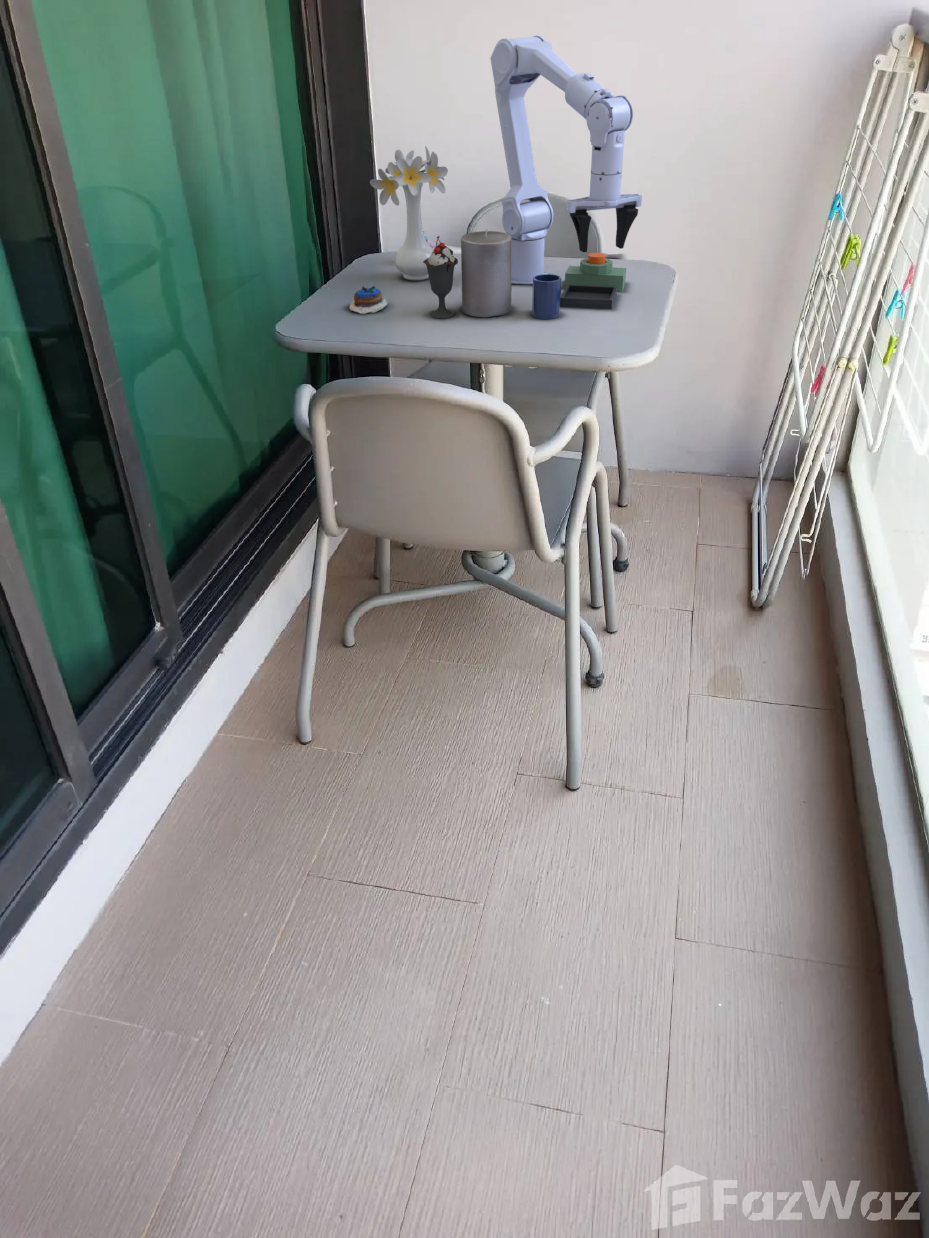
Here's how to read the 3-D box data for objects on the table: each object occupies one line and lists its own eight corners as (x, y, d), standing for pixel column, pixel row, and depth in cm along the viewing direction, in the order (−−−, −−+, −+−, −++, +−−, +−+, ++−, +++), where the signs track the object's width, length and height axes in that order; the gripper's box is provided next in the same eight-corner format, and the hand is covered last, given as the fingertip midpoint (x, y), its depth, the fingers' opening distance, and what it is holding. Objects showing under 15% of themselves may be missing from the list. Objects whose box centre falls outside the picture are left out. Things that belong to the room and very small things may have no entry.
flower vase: (371, 286, 193) (360, 157, 178) (410, 264, 206) (403, 142, 192) (425, 292, 188) (418, 160, 174) (461, 269, 202) (458, 145, 187)
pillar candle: (475, 300, 183) (473, 222, 174) (519, 306, 179) (520, 226, 171) (453, 314, 176) (451, 233, 167) (499, 320, 172) (499, 237, 164)
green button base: (564, 289, 188) (565, 264, 185) (568, 280, 193) (569, 256, 190) (622, 292, 185) (624, 267, 182) (625, 283, 190) (627, 258, 187)
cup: (530, 318, 173) (530, 281, 169) (534, 310, 177) (535, 273, 173) (557, 320, 172) (558, 282, 168) (561, 311, 176) (563, 274, 172)
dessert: (370, 294, 185) (377, 274, 180) (389, 319, 184) (397, 299, 179) (339, 306, 181) (346, 286, 176) (358, 331, 181) (365, 311, 175)
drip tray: (559, 307, 178) (560, 297, 177) (566, 293, 186) (567, 284, 184) (611, 309, 176) (612, 300, 175) (616, 295, 183) (617, 286, 182)
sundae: (434, 322, 173) (431, 239, 164) (419, 312, 177) (415, 232, 169) (465, 316, 175) (463, 234, 166) (449, 307, 180) (447, 227, 171)
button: (586, 265, 185) (587, 256, 184) (588, 261, 188) (589, 252, 187) (604, 266, 185) (604, 257, 184) (606, 261, 187) (606, 253, 186)
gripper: (578, 179, 162) (574, 258, 170) (651, 173, 165) (644, 250, 173) (563, 172, 168) (560, 249, 176) (635, 166, 171) (629, 242, 179)
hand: (601, 249), depth 175 cm, fingers open, 7 cm apart
